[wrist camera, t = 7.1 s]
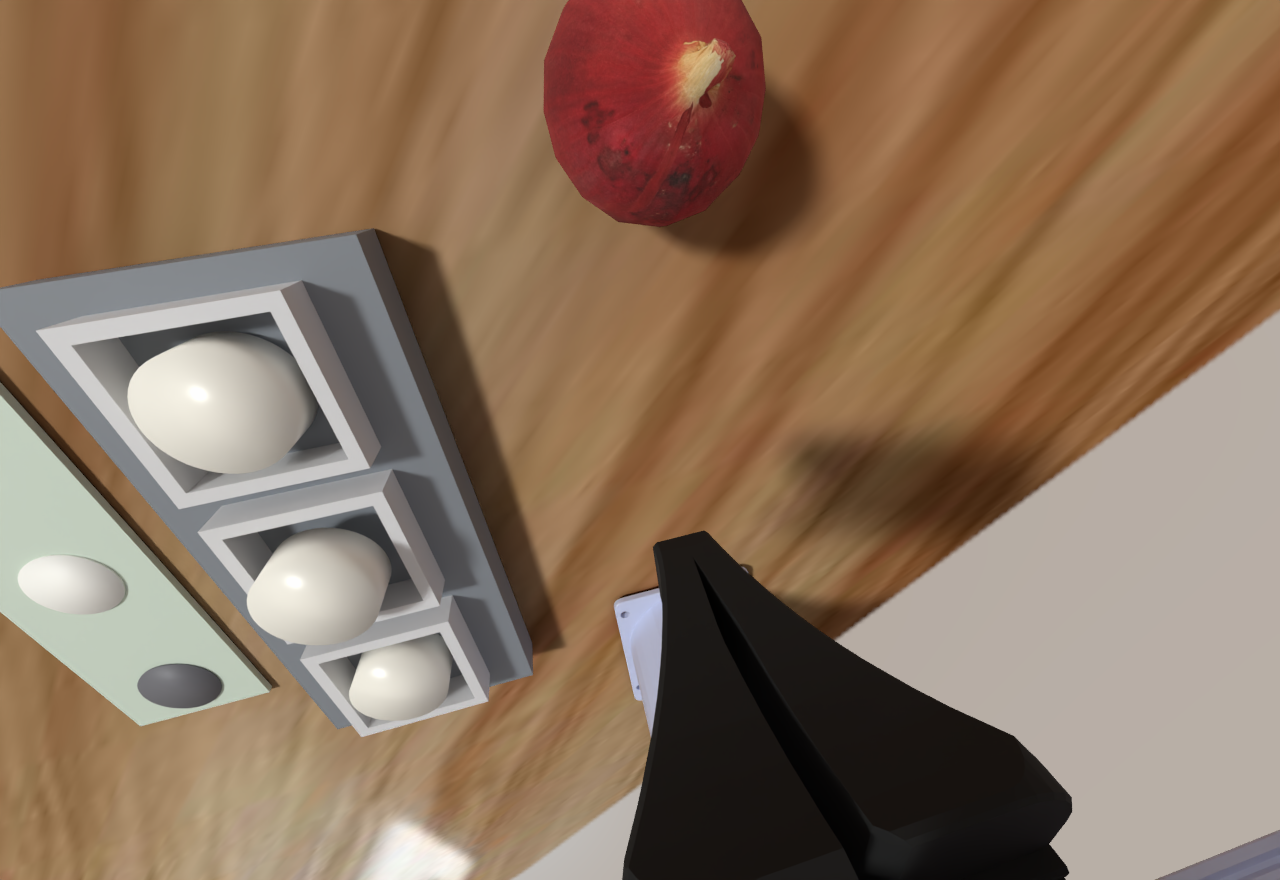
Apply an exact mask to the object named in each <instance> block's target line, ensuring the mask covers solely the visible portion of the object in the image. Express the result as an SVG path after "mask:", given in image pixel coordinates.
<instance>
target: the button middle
mask: <svg viewBox="0 0 1280 880" xmlns="http://www.w3.org/2000/svg"><path fill="white" fill-rule="evenodd" d="M391 572H392V570H391V563H390V560H389V558H388V556H387V554H386V553H385V551H384V550H383V549H382V548H381V547H380V546H379V545H378V544H377V543H375V542H374V541H372V540H371V539H369V538H367V537H366V536H364V535H361V534H359V533H356V532H353V531H350V530H345V529H339V528H315V529H309V530H305V531H302V532H299V533H296V534H294V535H292V536H290V537H289V538H287V539H286V540H284V541H283V542H282V543H281V544H280V545H279V546H278V547H277V549H276V550H275V552H274V553H273V555H272V556H271V558H270V559H269V561H268V562H267V564H266V565H265V567H264V568H263V570H262V571H261V573H260V574H259V576H258V577H257V579H256V580H255V582H254V583H253V585H252V586H251V588H250V590H249V592H248V595H247V608H248V611H249V613H250V615H251V617H252V619H253V620H254V621H255V622H256V623H257V624H258V625H259V626H260V627H261V628H262V629H263V630H265V631H266V632H268V633H269V634H271V635H273V636H275V637H277V638H280V639H283V640H285V641H289V642H292V643H297V644H304V645H330V644H336V643H341V642H345V641H348V640H350V639H353V638H355V637H357V636H359V635H361V634H362V633H364V632H365V631H367V630H368V629H369V628H370V627H371V626H372V625H373V623H374V622H375V621H376V619H377V617H378V614H379V611H380V608H381V605H382V602H383V599H384V596H385V593H386V590H387V587H388V584H389V581H390V577H391Z"/></svg>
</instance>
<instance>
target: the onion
mask: <svg viewBox="0 0 1280 880" xmlns="http://www.w3.org/2000/svg"><path fill="white" fill-rule="evenodd" d="M765 89H766V86H765V76H764V64H763V53H762V41H761V36H760V34H759V32H758V30H757V29H756V27H755V25H754V23H753V21H752V19H751V17H750V15H749V13H748V12H747V10H746V8H745V6H744V4H743V2H742V0H569V1H568V2H567V4H566V5H565V7H564V9H563V11H562V13H561V16H560V19H559V22H558V24H557V27H556V30H555V33H554V35H553V38H552V41H551V43H550V46H549V49H548V52H547V54H546V57H545V60H544V114H545V118H546V122H547V126H548V130H549V134H550V137H551V141H552V145H553V149H554V153H555V157H556V159H557V160H558V162H559V163H560V165H561V166H562V168H563V169H564V171H565V172H566V174H567V175H568V177H569V178H570V180H571V181H572V183H573V184H574V185H575V187H576V188H577V190H578V191H579V193H580V194H581V196H582V197H583V198H585V199H586V200H588V201H589V202H590V203H592V204H593V205H595V206H596V207H598V208H599V209H601V210H602V211H603V212H605V213H606V214H608V215H609V216H611V217H612V218H614V219H615V220H616V221H618V222H624V223H632V224H640V225H649V226H657V227H661V226H667V225H670V224H672V223H675V222H677V221H680V220H682V219H685V218H687V217H690V216H692V215H695V214H697V213H700V212H702V211H705V210H706V209H707V208H708V207H709V206H710V205H711V204H712V203H713V201H714V200H715V199H716V198H717V197H718V196H719V195H720V194H721V193H722V192H723V191H724V190H725V189H726V188H727V187H728V186H729V184H730V183H731V182H732V181H733V180H734V179H736V178H737V177H738V176H739V174H740V172H741V170H742V168H743V166H744V164H745V162H746V160H747V158H748V156H749V154H750V152H751V150H752V148H753V146H754V144H755V142H756V140H757V138H758V136H759V130H760V123H761V116H762V110H763V103H764V96H765Z"/></svg>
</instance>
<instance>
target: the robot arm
mask: <svg viewBox="0 0 1280 880" xmlns="http://www.w3.org/2000/svg"><path fill="white" fill-rule="evenodd" d="M653 551H654V557H655V564H656V571H657V577H658V584H659V588H657V589H653V590H649V591H646V592H642V593H638V594H634V595H631V596H627V597H623V598H620V599H618V600H617V601H615V603H614V609H615V613H616V618H617V622H618V627H619V631H620V635H621V640H622V644H623V649H624V653H625V657H626V662H627V666H628V671H629V675H630V679H631V684H632V688H633V693H634V697H635V699H637V700H643V705H644V709H645V713H646V718H647V722H648V726H649V731H650V735H651V741H650V747H649V752H648V757H647V762H646V767H645V772H644V777H643V782H642V787H641V792H640V797H639V801H638V806H637V810H636V814H635V818H634V822H633V826H632V830H631V834H630V838H629V842H628V846H627V851H626V855H625V859H624V867H623V878H622V880H1066V879H1065V878H1064V877H1066V876H1067V875H1068V874H1069V871H1068V869H1067V866H1066V865H1065V864H1064V862H1063V861H1062V860H1061V859H1060V857H1059V856H1058V855H1057V853H1056V852H1055V851H1054V850H1053V849H1052V847H1051V846H1050V845H1049V843H1050V842H1051V841H1052V839H1053V838H1054V837H1055V835H1056V834H1057V833H1058V832H1059V830H1060V829H1061V828H1062V826H1063V825H1064V824H1065V822H1066V821H1067V820H1068V818H1069V816H1070V814H1071V813H1072V798H1071V796H1070V795H1069V794H1068V793H1067V792H1066V791H1065V789H1064V788H1063V787H1062V786H1061V785H1060V784H1059V783H1058V782H1057V781H1056V779H1055V778H1054V777H1053V776H1052V775H1051V774H1050V773H1049V771H1048V770H1047V769H1046V768H1045V767H1044V766H1043V765H1042V764H1041V763H1040V762H1039V760H1038V759H1037V758H1036V757H1035V756H1033V754H1031V753H1030V752H1029V751H1028V750H1027V749H1026V748H1025V747H1024V746H1023V745H1022V744H1021V743H1020V742H1019V741H1018V740H1017V739H1016V738H1015V737H1014V736H1013V735H1010V734H1008V733H1006V732H1004V731H1001V730H999V729H997V728H995V727H993V726H991V725H988V724H986V723H984V722H982V721H979V720H977V719H975V718H973V717H971V716H969V715H966V714H964V713H962V712H960V711H958V710H955V709H953V708H951V707H949V706H947V705H945V704H943V703H941V702H939V701H937V700H936V699H934V698H932V697H930V696H928V695H926V694H924V693H922V692H920V691H918V690H916V689H914V688H912V687H911V686H909V685H907V684H905V683H904V682H902V681H900V680H898V679H897V678H895V677H893V676H891V675H889V674H888V673H886V672H884V671H883V670H881V669H879V668H877V667H876V666H874V665H872V664H870V663H869V662H867V661H865V660H864V659H862V658H860V657H859V656H857V655H856V654H854V653H853V652H851V651H849V650H848V649H846V648H845V647H843V646H842V645H840V644H838V643H837V642H835V641H834V640H833V639H831V638H830V637H828V636H827V635H825V634H824V633H822V632H821V631H819V630H818V629H817V628H815V627H814V626H812V625H811V624H810V623H808V622H807V621H806V620H804V619H803V618H802V617H800V616H799V615H798V614H796V613H795V612H794V611H793V610H791V609H790V608H789V607H788V606H786V605H785V604H784V603H782V602H781V601H780V600H779V599H778V598H776V597H775V596H774V595H773V594H772V593H770V592H769V591H768V590H767V589H766V588H765V587H763V586H762V585H761V584H760V583H759V582H758V581H757V580H755V579H754V578H753V577H752V576H751V575H750V574H749V573H748V571H747V569H746V568H745V567H741V566H740V565H739V564H738V563H737V562H736V561H735V560H734V559H733V558H732V557H731V556H730V555H729V554H728V553H727V552H726V551H725V550H724V549H723V548H722V547H721V546H720V545H719V544H718V543H717V542H716V541H715V540H714V539H713V538H712V537H711V536H710V534H709V533H707V532H706V531H701V532H697V533H693V534H689V535H685V536H681V537H677V538H673V539H669V540H665V541H661V542H657V543H656V544H655V545H654V546H653ZM625 611H626V612H625ZM622 612H623V613H622ZM1156 880H1280V830H1278V831H1276V832H1273V833H1271V834H1268V835H1266V836H1263V837H1261V838H1258V839H1256V840H1253V841H1251V842H1248V843H1246V844H1243V845H1241V846H1238V847H1236V848H1234V849H1231V850H1228V851H1226V852H1223V853H1221V854H1218V855H1216V856H1213V857H1211V858H1208V859H1206V860H1203V861H1201V862H1198V863H1196V864H1193V865H1191V866H1188V867H1186V868H1183V869H1181V870H1178V871H1176V872H1173V873H1171V874H1168V875H1166V876H1163V877H1161V878H1158V879H1156Z"/></svg>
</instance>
